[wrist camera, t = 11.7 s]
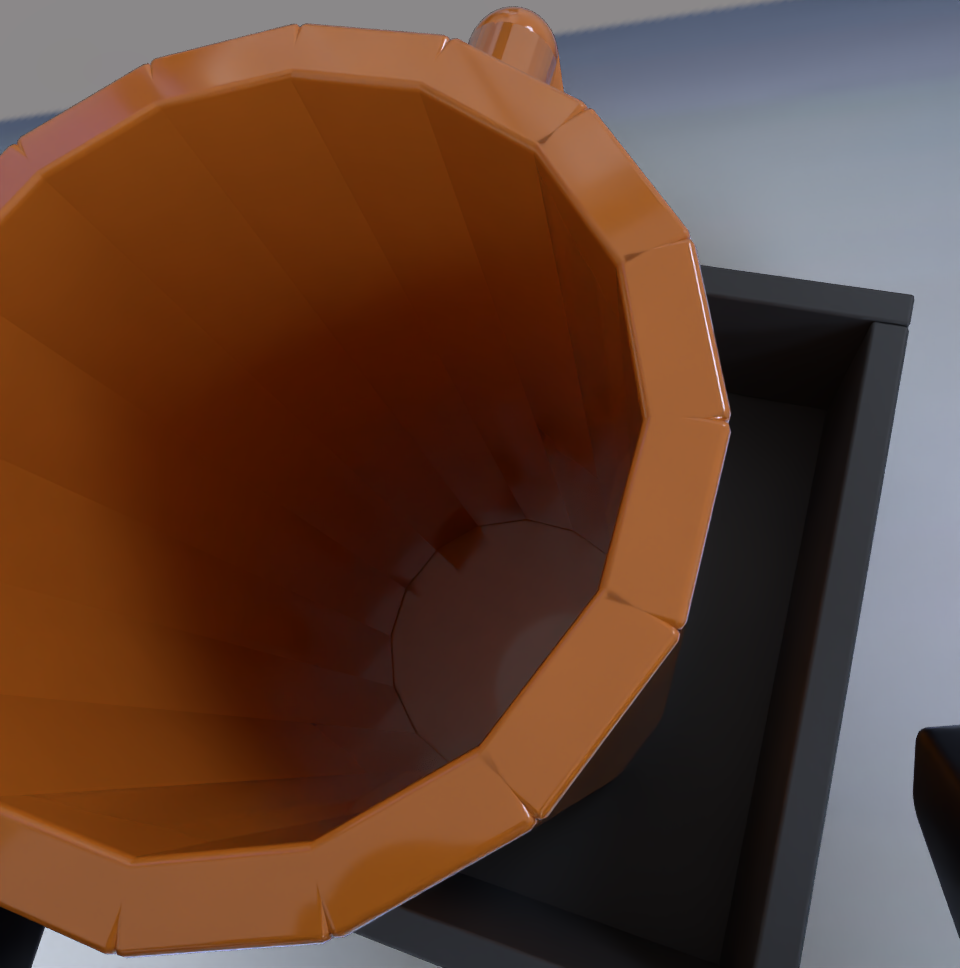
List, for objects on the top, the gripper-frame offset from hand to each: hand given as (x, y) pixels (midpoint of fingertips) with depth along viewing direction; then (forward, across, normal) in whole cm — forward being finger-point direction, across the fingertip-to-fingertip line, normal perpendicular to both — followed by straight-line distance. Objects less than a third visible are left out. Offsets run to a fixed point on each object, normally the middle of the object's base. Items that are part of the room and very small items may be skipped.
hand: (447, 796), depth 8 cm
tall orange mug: (+9, 0, +4) cm, 10 cm away
